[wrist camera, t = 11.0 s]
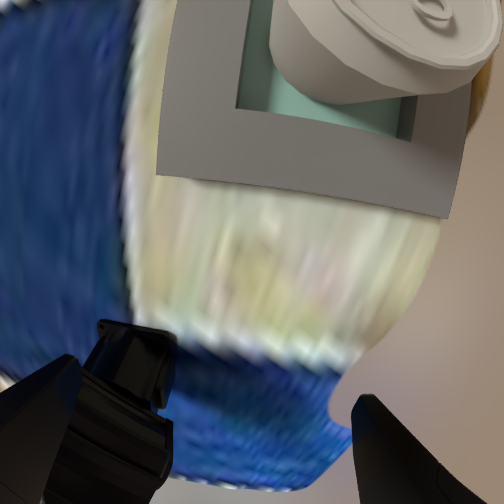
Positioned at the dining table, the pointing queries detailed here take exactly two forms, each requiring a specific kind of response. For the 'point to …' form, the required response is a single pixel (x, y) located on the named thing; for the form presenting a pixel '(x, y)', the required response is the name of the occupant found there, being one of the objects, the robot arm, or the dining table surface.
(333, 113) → the pocket frame
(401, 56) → the can
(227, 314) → the dining table surface
